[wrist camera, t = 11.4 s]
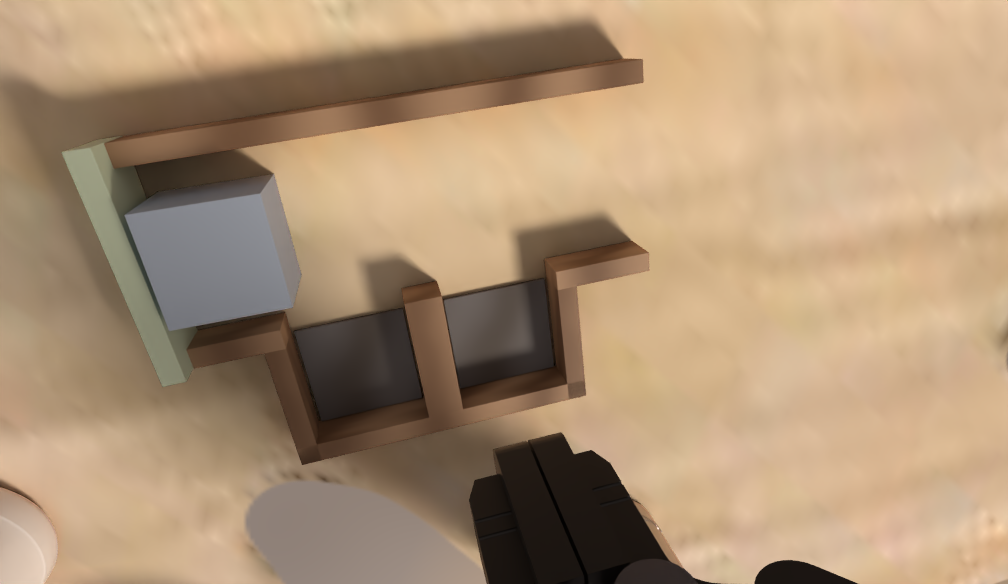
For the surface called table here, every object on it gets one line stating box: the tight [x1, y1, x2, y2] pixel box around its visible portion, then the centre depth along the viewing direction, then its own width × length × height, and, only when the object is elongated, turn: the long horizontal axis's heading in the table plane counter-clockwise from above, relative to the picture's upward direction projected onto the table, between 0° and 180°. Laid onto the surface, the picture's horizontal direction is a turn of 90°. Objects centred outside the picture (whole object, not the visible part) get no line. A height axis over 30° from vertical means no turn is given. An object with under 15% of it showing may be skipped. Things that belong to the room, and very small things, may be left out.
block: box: [124, 174, 301, 331], centre depth 31 cm, size 6×6×5 cm
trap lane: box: [104, 59, 649, 465], centre depth 35 cm, size 27×20×2 cm
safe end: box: [61, 136, 197, 387], centre depth 31 cm, size 1×12×4 cm, turn 8°
